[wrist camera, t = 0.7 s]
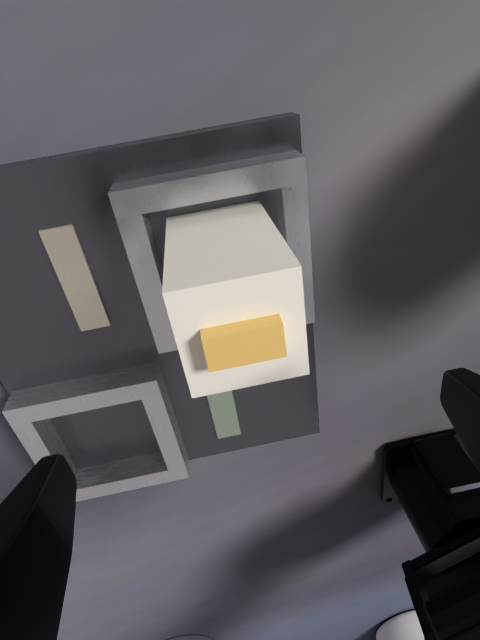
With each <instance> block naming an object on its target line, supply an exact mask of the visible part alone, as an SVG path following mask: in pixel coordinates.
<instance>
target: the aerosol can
mask: <svg viewBox="0 0 480 640" xmlns="http://www.w3.org/2000/svg"><path fill="white" fill-rule="evenodd" d="M168 640H213V639H211V638H209V637H205V636H200V635H187V636H180V637H175V638H172V639H168Z"/></svg>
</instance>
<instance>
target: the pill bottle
mask: <svg viewBox="0 0 480 640" xmlns="http://www.w3.org/2000/svg"><path fill="white" fill-rule="evenodd" d="M376 640H424V635H423V632H422V629H421V626H420V623H419V620H418V617H417V614H416V611H415V610H412V611H408V612H405V613H402V614H400V615H397V616H395V617H393V618H391V619H390V620H388V621H387V622H385V623H384V624H383V625H382V626H381V627H380V628H379V629H378V630H377V633H376Z"/></svg>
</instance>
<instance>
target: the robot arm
mask: <svg viewBox="0 0 480 640" xmlns="http://www.w3.org/2000/svg"><path fill="white" fill-rule="evenodd" d="M440 400H441V404H442V406H443V408H444V410H445V412H446V414H447V416H448V418H449V420H450V421H451V423H452V425H453V427H454V429H455V430H450V431H445V432H441V433H436V434H431V435H427V436H422V437H417V438H413V439H408V440H403V441H399V442H394V443H390V444H387V445H386V446H385V447H384V449H383V464H382V481H381V499H382V501H383V503H384V504H390V503H395V502H400V503H401V505H402V507H403V509H404V511H405V513H406V515H407V517H408V519H409V521H410V522H411V524H412V526H413V528H414V530H415V532H416V534H417V536H418V538H419V540H420V542H421V543H422V545H423V547H424V549H425V551H426V553H424V554H422V555H421V556H419V557H417V558H415V559H413V560H411V561H410V560H408V561H406V562H404V563H402V568H403V571H404V574H405V581H406V584H407V587H408V590H409V593H410V596H411V599H412V602H413V605H414V608H415V611H416V614H417V617H418V620H419V623H420V626H421V629H422V632H423V635H424V640H480V375H479V374H477V373H474V372H472V371H470V370H468V369H465V368H457V369H452V370H448V371H446V372H445V373H444V374H443V380H442V387H441V394H440ZM76 492H77V481H76V477H75V474H74V473H73V471H72V469H71V467H70V466H69V464H68V462H67V460H66V459H65V457H64V456H63V455H62V454H54V455H49V456H45V457H42V458H41V459H40V460H39V461H38V462H37V463H36V464H35V466H34V467H33V468H32V469H31V470H30V471H29V472H28V473H27V475H26V476H25V477H24V478H23V479H22V480H21V481H20V483H19V484H18V485H17V486H16V487H15V488H14V489H13V490H12V492H11V493H10V494H9V495H8V496H7V497H6V498H5V499H4V501H3V502H2V503H1V504H0V640H57V635H58V629H59V624H60V618H61V612H62V607H63V601H64V596H65V590H66V585H67V579H68V573H69V568H70V562H71V555H72V547H73V535H74V520H75V506H76Z"/></svg>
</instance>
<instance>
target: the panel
mask: <svg viewBox="0 0 480 640" xmlns="http://www.w3.org/2000/svg"><path fill="white" fill-rule="evenodd" d="M258 200H259V202H260V203H261V205H262V206H263V208H264V209H265V211H266V212H267V214H268V215H269V217H270V218H271V220H272V221H273V223H274V224H275V226H276V228H277V229H278V231H279V232H280V234H281V235H282V237H283V238H284V240H285V241H286V243H287V244H288V246H289V247H290V249H291V250H292V252H293V254H294V255H295V257H296V258H297V260H298V261H299V263H300V264H301V266H302V277H303V291H304V304H305V318H306V332H307V345H308V359H309V372H310V374H309V375H304V376H299V377H294V378H289V379H284V380H280V381H275V382H270V383H265V384H260V385H255V386H250V387H246V388H241V389H236V390H231V391H226V392H221V393H216V394H212V395H207V396H202V397H197V398H192V397H191V393H190V390H189V386H188V383H187V379H186V376H185V372H184V369H183V365H182V362H181V358H180V355H179V351H178V348H177V344H176V341H175V337H174V334H173V330H172V327H171V323H170V320H169V316H168V313H167V309H166V306H165V302H164V299H163V295H162V285H163V268H164V252H165V235H166V218H168V217H173V216H179V215H184V214H189V213H195V212H200V211H205V210H210V209H216V208H221V207H226V206H232V205H237V204H242V203H247V202H253V201H258ZM313 323H315V309H314V292H313V275H312V258H311V241H310V224H309V207H308V190H307V173H306V156H304V155H303V154H302V148H301V133H300V117H299V115H298V114H295V113H292V112H291V113H286V114H280V115H275V116H269V117H264V118H258V119H253V120H247V121H242V122H236V123H230V124H225V125H219V126H214V127H208V128H203V129H197V130H192V131H186V132H181V133H175V134H170V135H164V136H159V137H153V138H148V139H142V140H137V141H131V142H126V143H120V144H115V145H109V146H104V147H98V148H93V149H87V150H81V151H76V152H70V153H65V154H59V155H54V156H48V157H43V158H37V159H32V160H26V161H21V162H15V163H10V164H4V165H0V381H1V383H2V384H3V386H4V387H5V389H6V391H7V392H8V394H9V398H8V400H7V402H6V404H5V406H4V408H3V410H2V413H3V415H4V416H5V418H6V420H7V421H8V423H9V424H10V426H11V427H12V429H13V431H14V432H15V434H16V435H17V437H18V438H19V440H20V442H21V443H22V445H23V446H24V448H25V449H26V451H27V453H28V454H29V456H30V457H31V459H32V460H33V462H34V464H36V463H37V462H38V461H39V460H40V459H41V458H42V457H45V456H49V455H54V454H62V455H63V456H64V457H65V459H66V460H67V462H68V464H69V466H70V467H71V469H72V471H73V473H74V474H75V477H76V481H77V492H76V502H78V501H83V500H87V499H92V498H97V497H101V496H106V495H111V494H116V493H120V492H125V491H130V490H134V489H139V488H144V487H148V486H153V485H158V484H162V483H167V482H172V481H177V480H181V479H186V478H189V460H191V459H196V458H201V457H205V456H210V455H215V454H220V453H224V452H229V451H234V450H239V449H243V448H248V447H253V446H257V445H262V444H267V443H272V442H276V441H281V440H286V439H291V438H295V437H300V436H305V435H309V434H314V433H319V418H318V402H317V386H316V370H315V354H314V338H313Z"/></svg>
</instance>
